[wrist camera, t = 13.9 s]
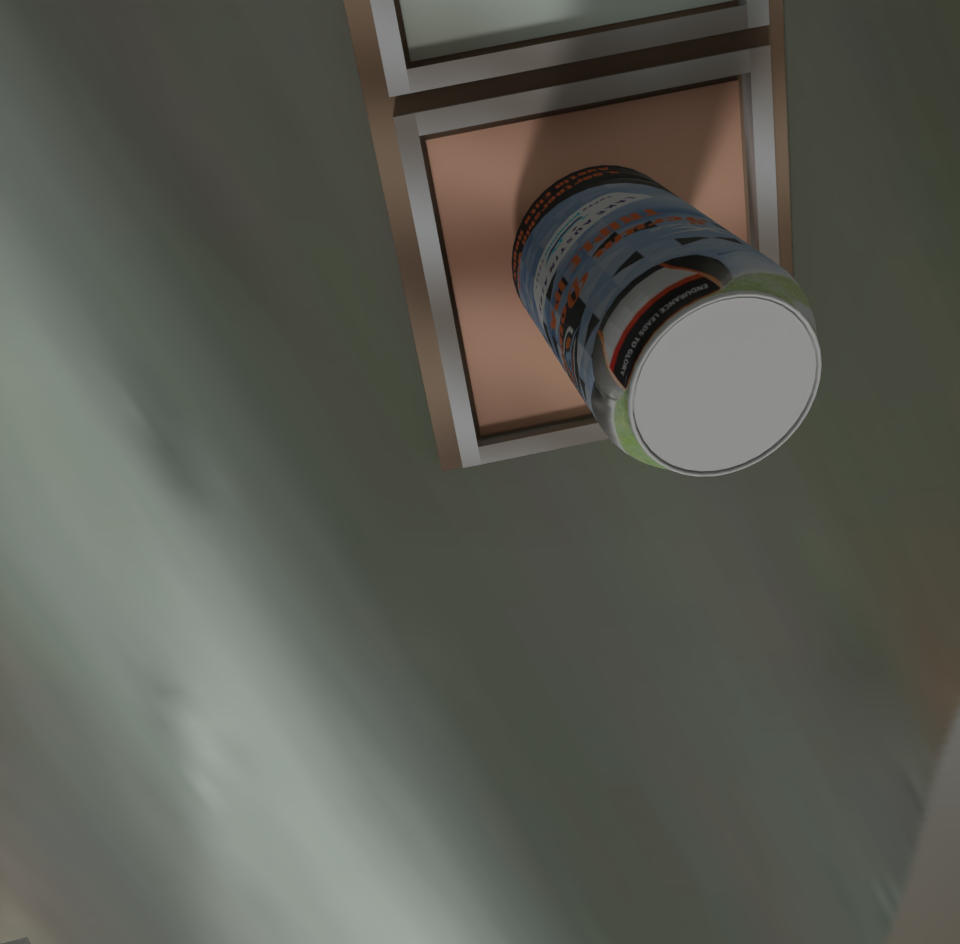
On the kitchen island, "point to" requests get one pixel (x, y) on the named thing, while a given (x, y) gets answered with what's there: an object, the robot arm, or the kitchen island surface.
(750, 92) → the framed panel board
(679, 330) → the beverage can
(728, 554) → the kitchen island surface
